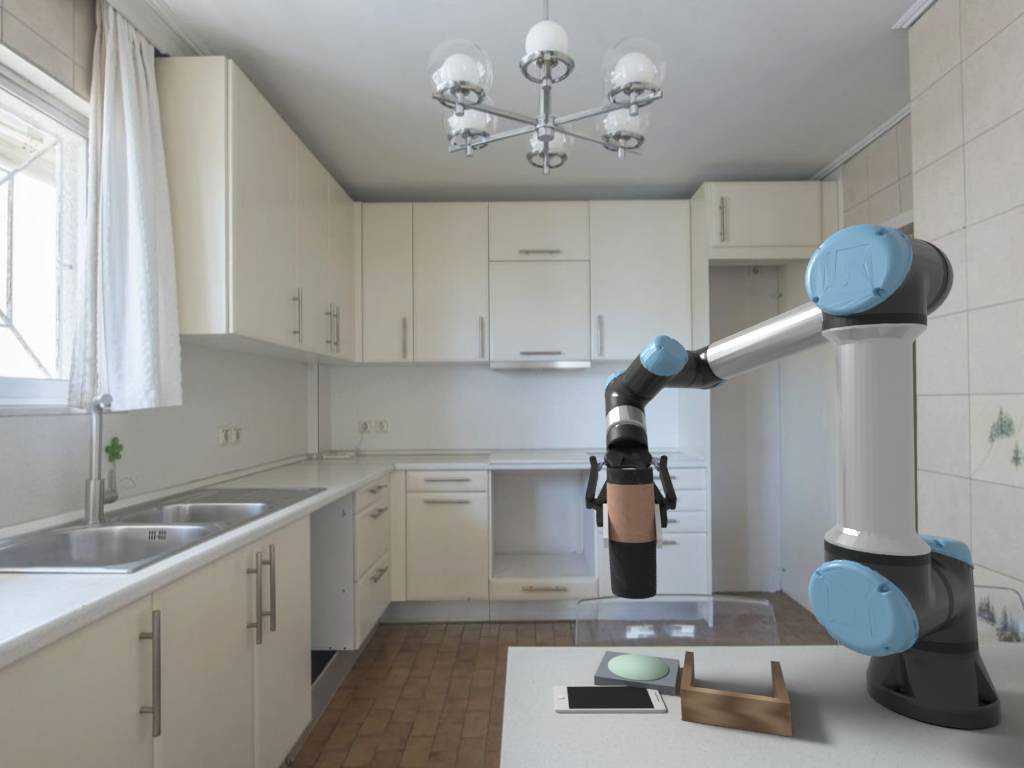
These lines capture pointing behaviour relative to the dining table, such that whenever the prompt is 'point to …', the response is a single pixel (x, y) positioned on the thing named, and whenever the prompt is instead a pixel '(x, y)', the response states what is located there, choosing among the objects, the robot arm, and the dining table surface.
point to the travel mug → (631, 531)
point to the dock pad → (638, 672)
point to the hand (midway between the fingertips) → (632, 543)
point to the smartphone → (607, 699)
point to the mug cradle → (736, 704)
